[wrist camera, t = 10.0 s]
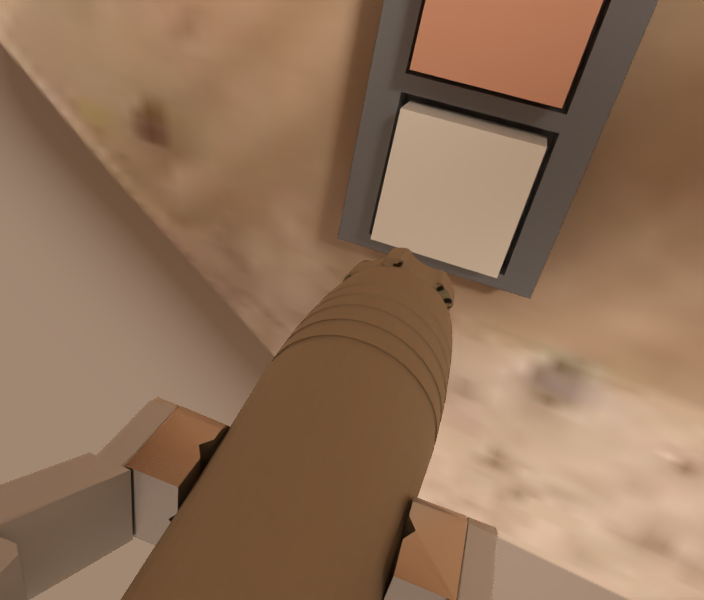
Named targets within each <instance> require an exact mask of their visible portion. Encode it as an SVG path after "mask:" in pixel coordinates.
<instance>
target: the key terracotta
mask: <svg viewBox="0 0 704 600" xmlns="http://www.w3.org/2000/svg"><path fill="white" fill-rule="evenodd" d="M602 3H603V0H425V5H424V9H423V13H422V18H421V22H420V26H419V31H418V35H417V39H416V44H415V48H414V53H413V57H412V61H411V66H410V70H413V71H417V72H421V73H425V74H429V75H433V76H437V77H441V78H445V79H448V80H452V81H456V82H460V83H464V84H468V85H472V86H476V87H480V88H484V89H487V90H491V91H495V92H499V93H503V94H507V95H511V96H515V97H519V98H523V99H527V100H530V101H534V102H538V103H542V104H546V105H550V106H554V107H558V108H562V107H563V105H564V102H565V99H566V97H567V94H568V91H569V89H570V86H571V84H572V81H573V78H574V76H575V73H576V71H577V68H578V65H579V63H580V60H581V58H582V55H583V52H584V50H585V47H586V44H587V42H588V39H589V37H590V34H591V31H592V29H593V26H594V24H595V21H596V18H597V16H598V13H599V10H600V8H601V5H602Z"/></svg>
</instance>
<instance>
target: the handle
mask: <svg viewBox="0 0 704 600" xmlns="http://www.w3.org/2000/svg"><path fill="white" fill-rule="evenodd" d="M453 301H454V289H453V284H452V281H451V279H450V277H449V276H448V274H447V273H446V272H445V271H443V270H435V269H433V268H430V267H428V266H427V265H425V264H423V263H422V262H421V261H419V260H418V259H417V258H416V257H415V256H414V255H413V254H412V252H411V250H409V249H408V248H393V249H392V250H391V251H390V252H389V253H388V254H387V255H386V256H385V257H383V258H381V259H378V260H375V261H369V260H365V261H363V262H361V263H360V264H358V265H357V266H356V267H355V268H354V269H353V270H352V271H351V272H350V273H349V274H348V275H347V276H346V277H345V279H344V280H343V282H342V283H341V284H340V285H339V286H337V287H336V288H335V289H334V290H333V291H331V292H330V293H329V294H328V295H327V296H326V297H325V298H324V299H323V300H322V301H321V302H320V303H319V304H318V305H317V306H316V307H315V308H314V309H313V310H312V311H311V312H310V313H309V315H308V316H307V317H306V318H305V319H304V320H303V321H302V322H301V323H300V325H299V326H298V327H297V328H296V330H295V331H294V332H293V333H292V334H291V336H290V337H289V338H288V340H287V341H286V342H285V344H284V345H283V346H282V348H281V349H280V350H279V352H278V353H277V354H276V356H275V357H274V359H273V360H272V362H271V363H270V364H269V366H268V367H267V368H266V370H265V372H264V373H263V375H262V376H261V378H260V380H259V381H258V383H257V385H256V386H255V388H254V389H253V391H252V393H251V394H250V396H249V398H248V399H247V401H246V402H245V404H244V406H243V408H242V409H241V411H240V412H239V414H238V415H237V417H236V419H235V420H234V422H233V424H232V425H231V427H230V428H229V430H228V432H227V433H226V435H225V437H224V438H223V440H222V441H221V443H220V445H219V446H218V448H217V449H216V451H215V453H214V454H213V456H212V458H211V459H210V461H209V462H208V464H207V466H206V467H205V469H204V471H203V472H202V474H201V475H200V477H199V479H198V480H197V482H196V484H195V485H194V487H193V488H192V490H191V492H190V493H189V495H188V496H187V498H186V499H185V501H184V502H183V504H182V506H181V507H180V509H179V510H178V512H177V513H176V515H175V516H174V518H173V519H172V521H171V523H170V524H169V526H168V527H167V529H166V530H165V532H164V533H163V535H162V537H161V538H160V540H159V541H158V543H157V544H156V546H155V548H154V549H153V550H152V552H151V554H150V555H149V557H148V558H147V560H146V561H145V563H144V565H143V566H142V568H141V569H140V571H139V572H138V574H137V575H136V577H135V579H134V580H133V582H132V583H131V585H130V586H129V588H128V589H127V591H126V592H125V594H124V595H123V597H122V599H121V600H382V598H383V595H384V592H385V589H386V586H387V584H388V581H389V577H390V573H391V570H392V566H393V562H394V560H395V557H396V555H397V553H398V550H399V548H400V543H401V536H402V531H403V528H404V524H405V521H406V517H407V514H408V511H409V507H410V504H411V500H412V498H413V496H414V497H418V494H419V491H420V488H421V485H422V482H423V479H424V476H425V474H426V471H427V468H428V465H429V462H430V459H431V456H432V453H433V450H434V445H435V442H436V438H437V434H438V430H439V425H440V421H441V418H442V413H443V409H444V403H445V399H446V393H447V385H448V379H449V372H450V365H451V354H452V325H451V318H450V314H449V309H450V308H451V307H452V306H453Z"/></svg>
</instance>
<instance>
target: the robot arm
mask: <svg viewBox="0 0 704 600" xmlns="http://www.w3.org/2000/svg"><path fill="white" fill-rule="evenodd" d="M229 428H230V427H229V426H227V425H225V424H223V423H220V422H218V421H216V420H213V419H211V418H208V417H206V416H203V415H201V414H198V413H196V412H194V411H191V410H189V409H187V408H184V407H182V406H179V405H176V404H174V403H171V402H169V401H166V400H164V399H162V398H159V397H157V398H155V399H153V400H151V401H149V402H148V403H147V404H146V405H145V406H144V407H143V408H142V409H141V410H140V411H139V412H138V413H137V414H136V415H135V417H133V418H132V419H131V421H130V422H129V423H128V424H127V425H126V426H125V427H124V428H123V429H122V430H121V431H120V432H119V433H118V434H117V435H116V436H115V437H114V438H113V439H112V440H111V441H110V442H109V443H108V444H107V445H106V446H105V447H104V448H103V449H102V450H101V451H100V452H99V453H98V454H97V455H94V454H91V453H87V454H84V455H82V456H79V457H76V458H73V459H71V460H68V461H65V462H62V463H59V464H57V465H54V466H51V467H48V468H45V469H43V470H40V471H37V472H34V473H32V474H29V475H26V476H23V477H21V478H18V479H15V480H12V481H9V482H7V483H4V484H1V485H0V600H30V599H32V598H33V597H35V596H37V595H38V594H40V593H42V592H43V591H45V590H47V589H49V588H51V587H52V586H54V585H56V584H57V583H59V582H61V581H63V580H64V579H66V578H68V577H69V576H71V575H73V574H74V573H76V572H78V571H80V570H81V569H83V568H85V567H87V566H88V565H90V564H92V563H94V562H95V561H97V560H99V559H100V558H102V557H104V556H106V555H107V554H109V553H111V552H112V551H114V550H116V549H118V548H119V547H121V546H123V545H124V544H126V543H128V542H129V541H131V540H133V537H136V538H139V539H141V540H143V541H146V542H148V543H151V544H153V545H156V544H157V543H158V541H159V540H160V538H161V537H162V535H163V533H164V532H165V530H166V529H167V527H168V526H169V524H170V523H171V521H172V519H173V518H174V516H175V515H176V513H177V512H178V510H179V509H180V507H181V506H182V504H183V502H184V501H185V499H186V498H187V496H188V495H189V493H190V492H191V490H192V488H193V487H194V485H195V484H196V482H197V480H198V479H199V477H200V475H201V474H202V472H203V471H204V469H205V467H206V466H207V464H208V462H209V461H210V459H211V458H212V456H213V454H214V453H215V451H216V449H217V448H218V446H219V445H220V443H221V441H222V440H223V438H224V437H225V435H226V433H227V432H228V430H229ZM497 537H498V533H497V530H496V528H495V527H493V526H490V525H487V524H485V523H482V522H480V521H477V520H474V519H472V518H469V517H468V518H467V516H465V515H463V514H460V513H457V512H454V511H452V510H449V509H446V508H444V507H441V506H438V505H436V504H433V503H430V502H428V501H425V500H422V499H419V498H417V497H414V496H413V498H412V500H411V504H410V507H409V511H408V514H407V517H406V521H405V524H404V528H403V531H402V536H401V543H400V548H399V550H398V553H397V555H396V557H395V560H394V562H393V566H392V570H391V573H390V577H389V581H388V584H387V586H386V589H385V592H384V595H383V598H382V600H492V596H493V584H494V571H495V561H496V559H495V558H496V548H497Z"/></svg>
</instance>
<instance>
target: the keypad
mask: <svg viewBox="0 0 704 600" xmlns="http://www.w3.org/2000/svg"><path fill="white" fill-rule="evenodd" d="M657 2H658V0H603V3H602V5H601V8H600V10H599V13H598V16H597V18H596V21H595V24H594V26H593V29H592V31H591V34H590V37H589V39H588V42H587V44H586V47H585V50H584V52H583V55H582V58H581V60H580V63H579V65H578V68H577V71H576V73H575V76H574V78H573V81H572V84H571V86H570V89H569V91H568V94H567V97H566V99H565V102H564V105H563V107H562V108H558V107H554V106H550V105H546V104H542V103H538V102H534V101H530V100H527V99H523V98H519V97H515V96H511V95H507V94H503V93H499V92H495V91H491V90H487V89H484V88H480V87H476V86H472V85H468V84H464V83H460V82H456V81H452V80H448V79H445V78H441V77H437V76H433V75H429V74H425V73H421V72H417V71H413V70H410V66H411V61H412V57H413V53H414V48H415V44H416V39H417V35H418V31H419V26H420V22H421V18H422V13H423V9H424V5H425V0H384V2H383V7H382V13H381V18H380V23H379V28H378V33H377V38H376V43H375V49H374V54H373V59H372V64H371V69H370V74H369V79H368V85H367V90H366V95H365V100H364V105H363V110H362V115H361V121H360V126H359V131H358V136H357V141H356V146H355V151H354V157H353V162H352V167H351V172H350V177H349V182H348V187H347V193H346V198H345V203H344V208H343V213H342V218H341V223H340V229H339V234H338V239H341V240H344V241H348V242H351V243H354V244H357V245H360V246H364V247H367V248H370V249H373V250H376V251H379V252H383V253H386V254H388V253H389V252H390V251H391V250H392V249H393V248H398V247H394V246H391V245H388V244H385V243H381V242H378V241H375V240H372V239H371V235H372V231H373V226H374V222H375V218H376V213H377V209H378V205H379V200H380V196H381V192H382V187H383V183H384V178H385V174H386V170H387V165H388V161H389V157H390V152H391V148H392V144H393V139H394V135H395V131H396V126H397V122H398V118H399V113H400V109H401V108H402V107H403V106H404V105H405V104H407V103H408V102H409V101H411V100H412V101H416V102H420V103H424V104H427V105H431V106H435V107H439V108H442V109H446V110H450V111H454V112H458V113H461V114H465V115H469V116H473V117H476V118H480V119H484V120H488V121H491V122H495V123H499V124H503V125H507V126H510V127H514V128H518V129H522V130H525V131H529V132H533V133H537V134H540V135H544V136H547V149H546V152H545V154H544V157H543V159H542V162H541V165H540V167H539V170H538V173H537V175H536V178H535V180H534V183H533V186H532V188H531V191H530V193H529V196H528V199H527V201H526V204H525V206H524V209H523V212H522V214H521V217H520V220H519V222H518V225H517V227H516V230H515V233H514V235H513V238H512V240H511V243H510V246H509V248H508V251H507V254H506V256H505V259H504V261H503V264H502V267H501V269H500V272H499V274H498V277H497V278H494V277H491V276H488V275H484V274H481V273H478V272H475V271H472V270H468V269H465V268H462V267H459V266H455V265H452V264H449V263H446V262H443V261H439V260H436V259H433V258H430V257H427V256H423V255H420V254H417V253H414V252H412V254H413V255H414V256H415V257H416V258H417V259H418V260H419V261H421V262H422V263H423V264H425V265H427V266H428V267H430V268H434V269H437V270H443V271H445V272H446V273H450V274H453V275H456V276H459V277H462V278H466V279H469V280H472V281H475V282H478V283H482V284H485V285H488V286H491V287H494V288H497V289H501V290H504V291H507V292H510V293H513V294H517V295H520V296H523V297H526V298H529V299H530V298H531V295H532V293H533V291H534V288H535V286H536V284H537V281H538V279H539V277H540V274H541V272H542V270H543V268H544V265H545V263H546V261H547V258H548V256H549V254H550V251H551V249H552V247H553V244H554V242H555V240H556V237H557V235H558V233H559V230H560V228H561V226H562V223H563V221H564V219H565V216H566V214H567V212H568V209H569V207H570V205H571V202H572V200H573V198H574V195H575V193H576V191H577V188H578V186H579V184H580V181H581V179H582V177H583V174H584V172H585V170H586V167H587V165H588V163H589V160H590V158H591V156H592V153H593V151H594V149H595V146H596V144H597V142H598V140H599V137H600V135H601V133H602V130H603V128H604V126H605V123H606V121H607V119H608V116H609V114H610V112H611V109H612V107H613V105H614V102H615V100H616V98H617V95H618V93H619V91H620V88H621V86H622V84H623V81H624V79H625V77H626V74H627V72H628V70H629V67H630V65H631V63H632V60H633V58H634V56H635V53H636V51H637V49H638V46H639V44H640V42H641V39H642V37H643V35H644V32H645V30H646V28H647V25H648V23H649V21H650V18H651V16H652V14H653V12H654V9H655V7H656V5H657Z"/></svg>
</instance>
